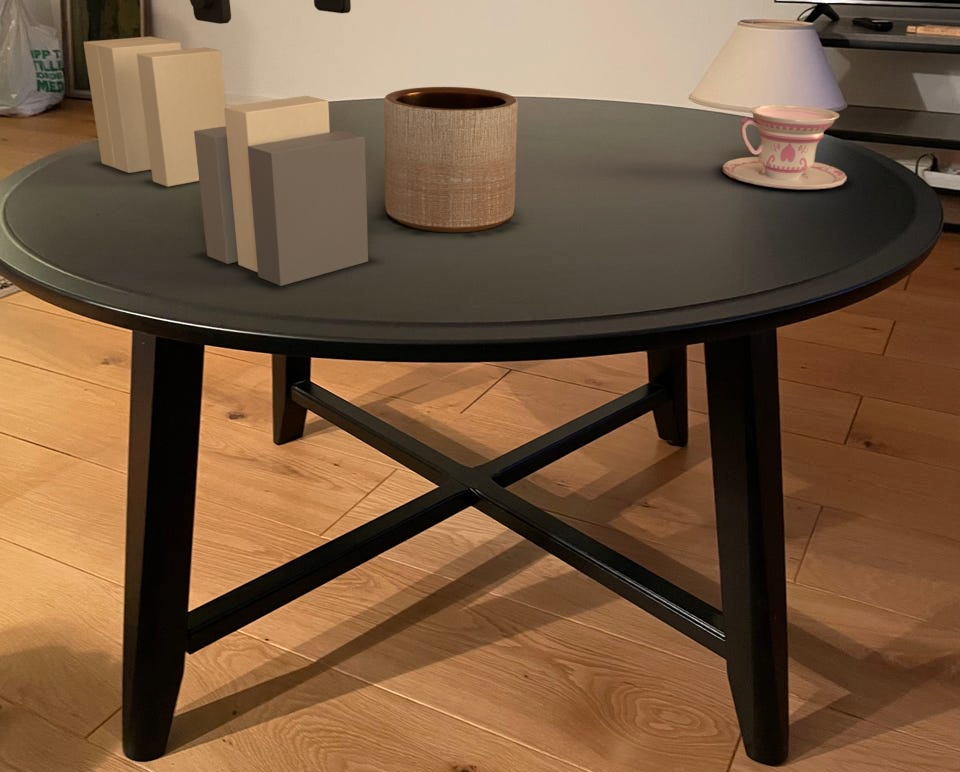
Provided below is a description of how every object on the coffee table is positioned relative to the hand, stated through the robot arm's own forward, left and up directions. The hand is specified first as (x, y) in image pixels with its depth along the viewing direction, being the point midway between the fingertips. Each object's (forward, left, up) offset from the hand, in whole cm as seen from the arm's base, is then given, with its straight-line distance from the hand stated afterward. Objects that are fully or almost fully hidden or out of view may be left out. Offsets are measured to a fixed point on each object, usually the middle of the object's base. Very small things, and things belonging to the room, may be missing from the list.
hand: (275, 16), depth 68 cm
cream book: (0, 0, -17) cm, 17 cm away
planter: (+17, 0, -17) cm, 24 cm away
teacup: (+52, -12, -17) cm, 56 cm away
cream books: (+8, +30, -16) cm, 35 cm away
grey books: (0, 0, -17) cm, 17 cm away
